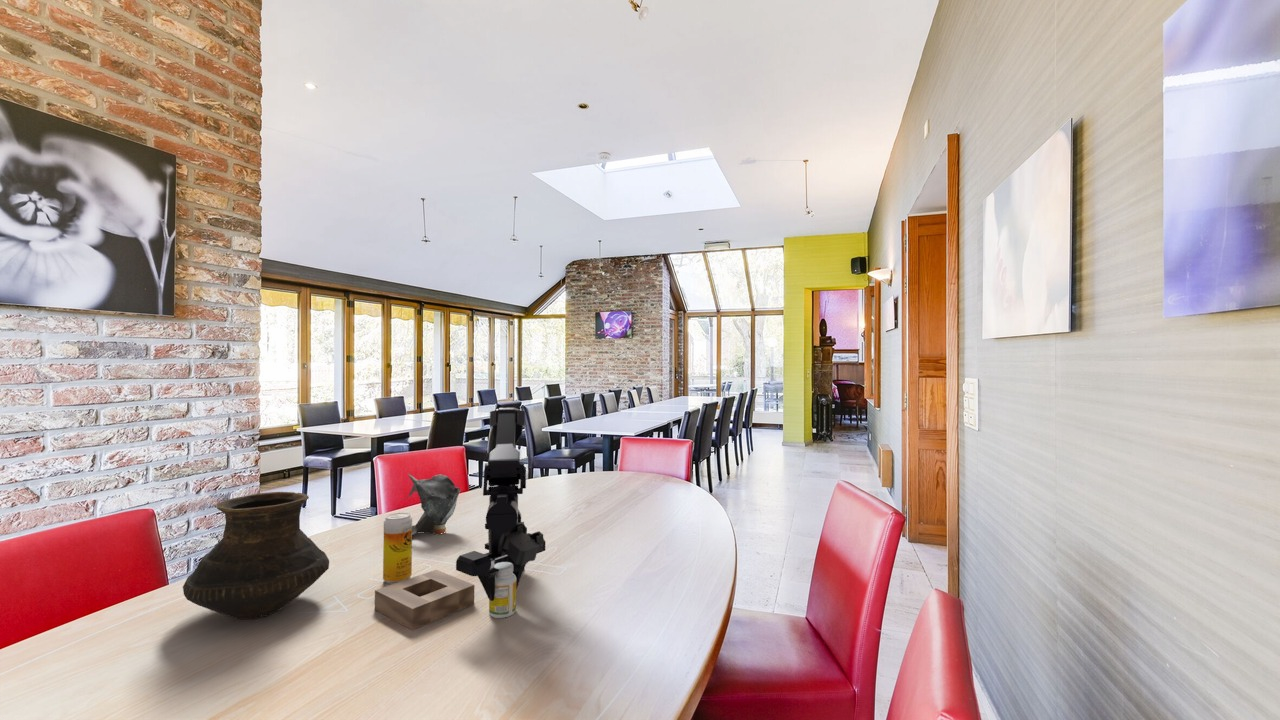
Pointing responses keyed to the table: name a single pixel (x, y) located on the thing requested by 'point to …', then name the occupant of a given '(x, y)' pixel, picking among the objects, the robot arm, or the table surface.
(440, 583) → the socket block
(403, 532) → the beer can
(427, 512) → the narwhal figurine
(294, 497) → the ceramic pot
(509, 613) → the supplement bottle
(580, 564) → the table surface
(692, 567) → the table surface
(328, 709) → the table surface
